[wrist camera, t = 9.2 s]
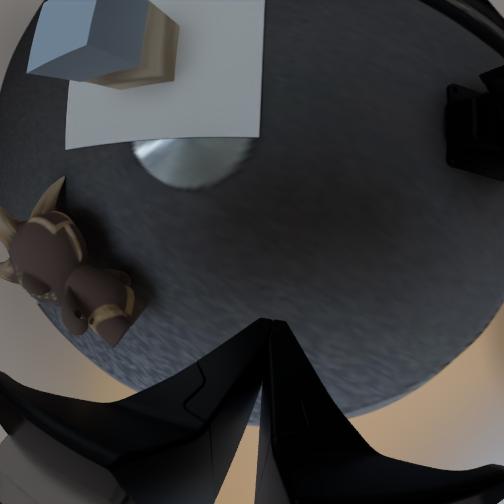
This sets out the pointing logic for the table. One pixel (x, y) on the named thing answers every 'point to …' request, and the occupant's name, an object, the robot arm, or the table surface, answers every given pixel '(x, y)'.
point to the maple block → (149, 55)
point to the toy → (66, 271)
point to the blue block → (88, 38)
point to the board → (184, 82)
